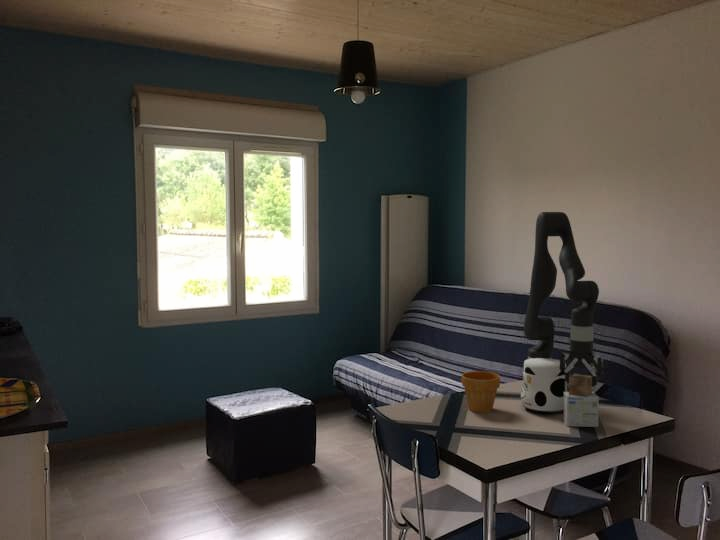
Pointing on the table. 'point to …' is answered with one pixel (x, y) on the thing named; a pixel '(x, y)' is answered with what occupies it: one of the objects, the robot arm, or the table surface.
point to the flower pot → (480, 390)
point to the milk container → (543, 385)
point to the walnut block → (580, 385)
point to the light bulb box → (581, 410)
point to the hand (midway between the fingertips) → (581, 384)
